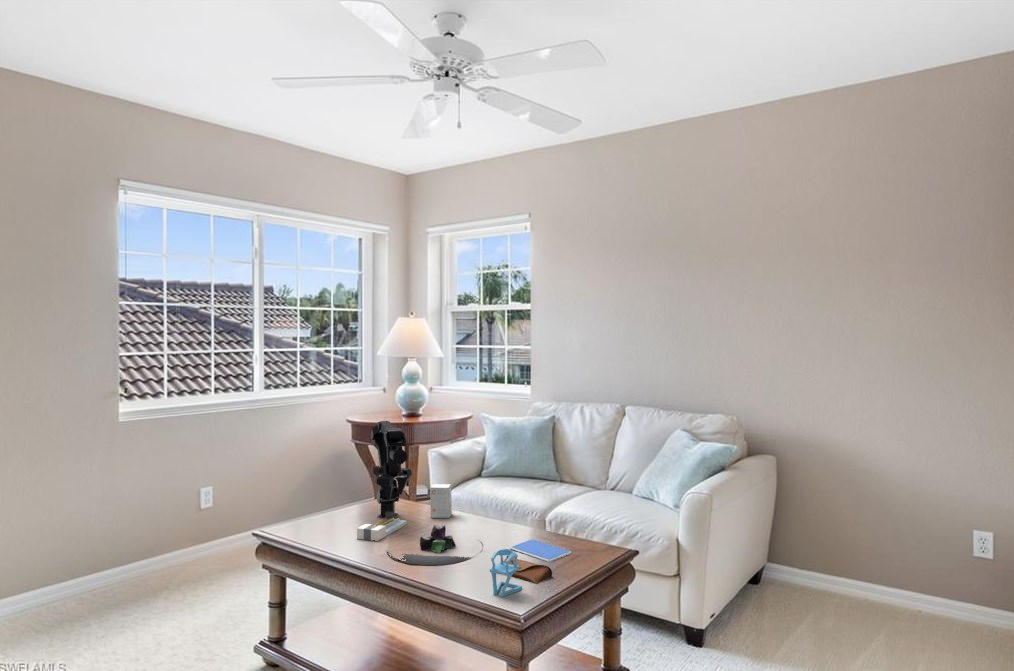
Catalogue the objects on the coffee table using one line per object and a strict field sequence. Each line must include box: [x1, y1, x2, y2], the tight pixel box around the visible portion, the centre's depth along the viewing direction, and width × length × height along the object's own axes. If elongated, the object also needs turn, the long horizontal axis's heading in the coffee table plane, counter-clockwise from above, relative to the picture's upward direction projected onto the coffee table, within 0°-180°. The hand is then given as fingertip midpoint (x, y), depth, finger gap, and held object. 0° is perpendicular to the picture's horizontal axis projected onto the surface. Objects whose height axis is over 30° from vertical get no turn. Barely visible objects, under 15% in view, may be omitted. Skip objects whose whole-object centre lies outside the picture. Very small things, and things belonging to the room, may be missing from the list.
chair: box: [489, 548, 523, 598], centre depth 189 cm, size 8×8×12 cm
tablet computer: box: [509, 538, 572, 563], centre depth 224 cm, size 19×13×1 cm, turn 45°
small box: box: [429, 483, 453, 519], centre depth 270 cm, size 8×6×13 cm
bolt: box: [374, 511, 395, 527], centre depth 251 cm, size 10×3×4 cm, turn 160°
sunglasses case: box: [503, 555, 553, 585], centre depth 203 cm, size 18×7×7 cm, turn 55°
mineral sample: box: [386, 524, 484, 566], centre depth 229 cm, size 35×35×9 cm
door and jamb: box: [356, 517, 408, 542], centre depth 249 cm, size 22×9×4 cm, turn 160°
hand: (394, 497), depth 259 cm, fingers open, 9 cm apart
